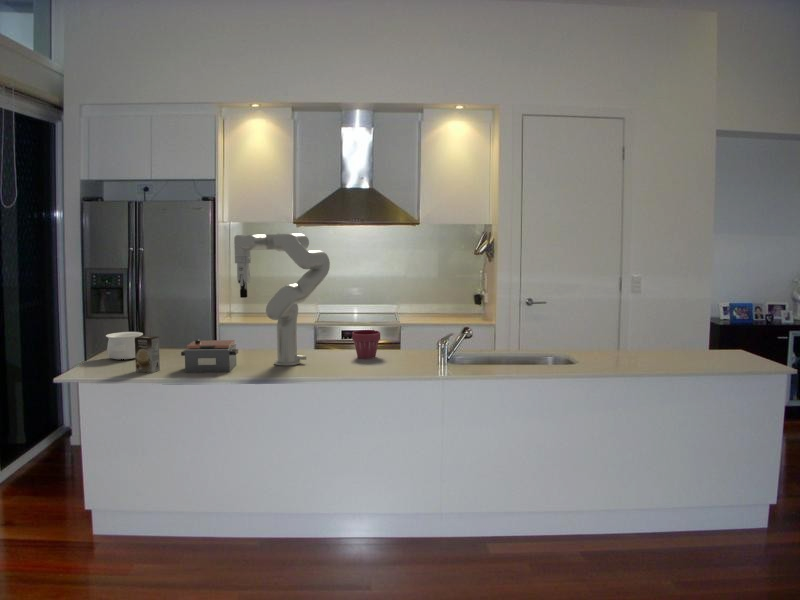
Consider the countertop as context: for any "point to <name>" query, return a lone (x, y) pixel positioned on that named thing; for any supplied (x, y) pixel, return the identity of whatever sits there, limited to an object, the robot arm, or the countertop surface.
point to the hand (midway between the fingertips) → (243, 297)
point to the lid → (211, 344)
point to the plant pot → (366, 343)
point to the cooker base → (210, 359)
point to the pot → (122, 345)
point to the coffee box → (147, 354)
